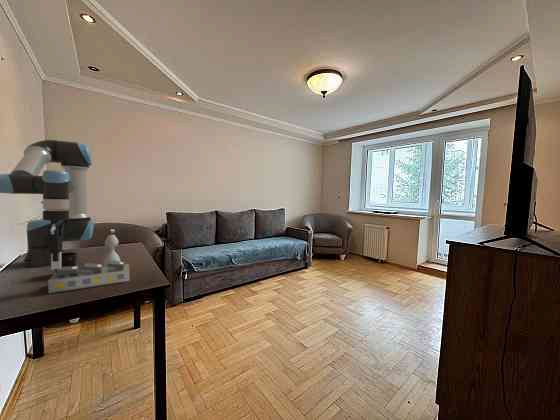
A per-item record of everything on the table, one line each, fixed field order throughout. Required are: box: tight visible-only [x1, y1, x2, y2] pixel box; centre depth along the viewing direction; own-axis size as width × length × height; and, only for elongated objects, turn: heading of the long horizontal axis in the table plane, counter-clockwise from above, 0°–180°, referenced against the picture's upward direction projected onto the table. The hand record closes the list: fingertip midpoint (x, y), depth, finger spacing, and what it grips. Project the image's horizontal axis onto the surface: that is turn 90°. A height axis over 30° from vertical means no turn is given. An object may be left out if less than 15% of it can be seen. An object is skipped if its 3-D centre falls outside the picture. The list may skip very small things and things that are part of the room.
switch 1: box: [57, 265, 80, 275], centre depth 96 cm, size 5×6×2 cm
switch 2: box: [82, 262, 103, 272], centre depth 100 cm, size 5×6×2 cm
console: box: [47, 263, 131, 294], centre depth 100 cm, size 10×26×6 cm, turn 124°
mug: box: [54, 251, 78, 273], centre depth 107 cm, size 8×12×10 cm
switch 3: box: [107, 261, 125, 269], centre depth 105 cm, size 5×6×2 cm
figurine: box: [102, 228, 122, 267], centre depth 119 cm, size 8×8×20 cm
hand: (56, 268), depth 94 cm, fingers closed
